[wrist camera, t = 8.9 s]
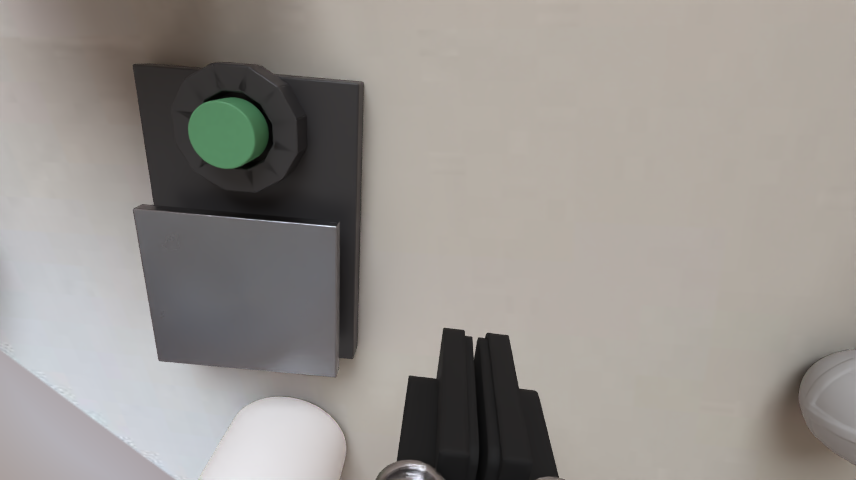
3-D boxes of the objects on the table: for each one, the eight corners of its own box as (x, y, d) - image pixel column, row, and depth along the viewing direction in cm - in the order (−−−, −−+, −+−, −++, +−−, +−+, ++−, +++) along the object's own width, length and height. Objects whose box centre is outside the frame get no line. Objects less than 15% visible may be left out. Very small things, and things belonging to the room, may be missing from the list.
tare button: (203, 94, 21) (183, 97, 20) (267, 99, 21) (252, 103, 20) (210, 158, 22) (191, 166, 21) (270, 164, 22) (257, 172, 21)
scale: (147, 53, 23) (106, 53, 20) (364, 72, 23) (352, 74, 20) (186, 330, 29) (158, 359, 27) (357, 346, 29) (347, 376, 26)
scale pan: (142, 203, 23) (131, 208, 22) (340, 220, 23) (336, 226, 22) (166, 352, 26) (158, 361, 26) (339, 368, 26) (336, 377, 26)
